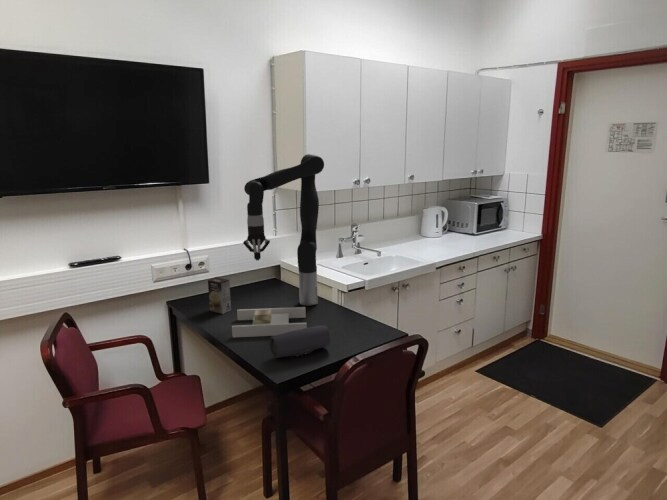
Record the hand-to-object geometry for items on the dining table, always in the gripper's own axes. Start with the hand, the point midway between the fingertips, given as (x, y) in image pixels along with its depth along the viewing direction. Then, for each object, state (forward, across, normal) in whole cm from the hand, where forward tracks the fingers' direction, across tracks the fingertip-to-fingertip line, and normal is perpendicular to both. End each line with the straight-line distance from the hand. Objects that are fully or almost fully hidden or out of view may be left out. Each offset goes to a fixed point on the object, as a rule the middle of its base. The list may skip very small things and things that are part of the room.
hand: (257, 260), depth 221 cm
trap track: (+27, -6, +17) cm, 32 cm away
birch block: (+24, -3, +17) cm, 29 cm away
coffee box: (+27, +20, -6) cm, 34 cm away
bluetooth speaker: (+27, -19, +45) cm, 56 cm away
